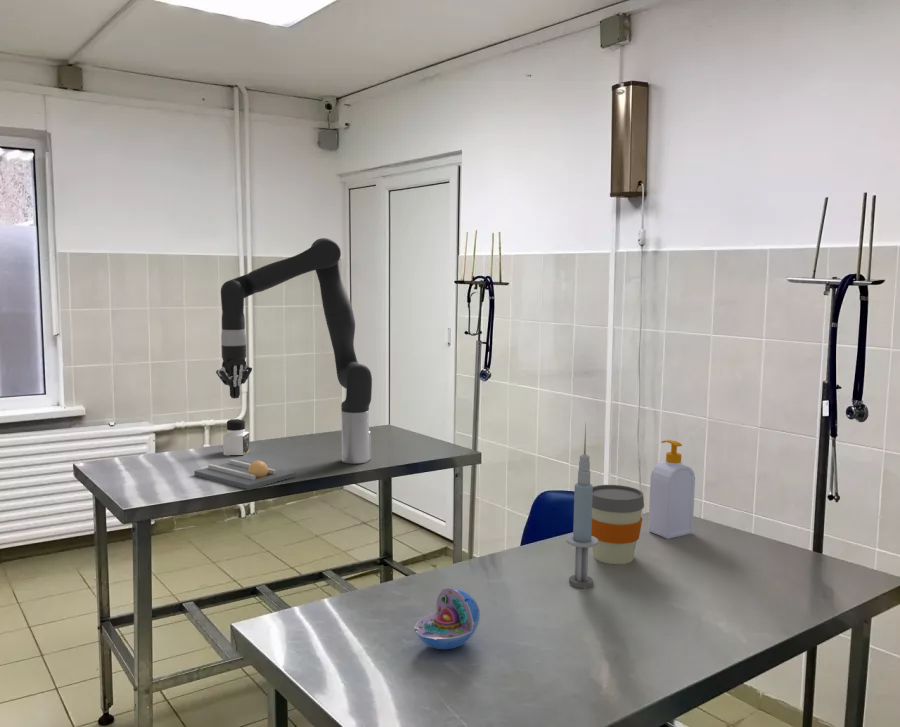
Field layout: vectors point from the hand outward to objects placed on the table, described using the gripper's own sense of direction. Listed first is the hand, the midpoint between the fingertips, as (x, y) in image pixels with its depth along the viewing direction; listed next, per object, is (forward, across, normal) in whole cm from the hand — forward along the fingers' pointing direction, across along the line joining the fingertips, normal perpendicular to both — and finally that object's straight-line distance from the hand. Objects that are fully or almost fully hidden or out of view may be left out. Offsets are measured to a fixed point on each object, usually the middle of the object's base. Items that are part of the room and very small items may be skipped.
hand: (235, 397), depth 242 cm
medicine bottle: (+24, +15, +18) cm, 33 cm away
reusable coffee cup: (+23, -1, -129) cm, 131 cm away
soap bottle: (+23, +23, -133) cm, 137 cm away
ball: (+20, -4, -15) cm, 26 cm away
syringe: (+23, -19, -129) cm, 133 cm away
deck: (+23, -4, -8) cm, 25 cm away
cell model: (+23, -56, -122) cm, 136 cm away
